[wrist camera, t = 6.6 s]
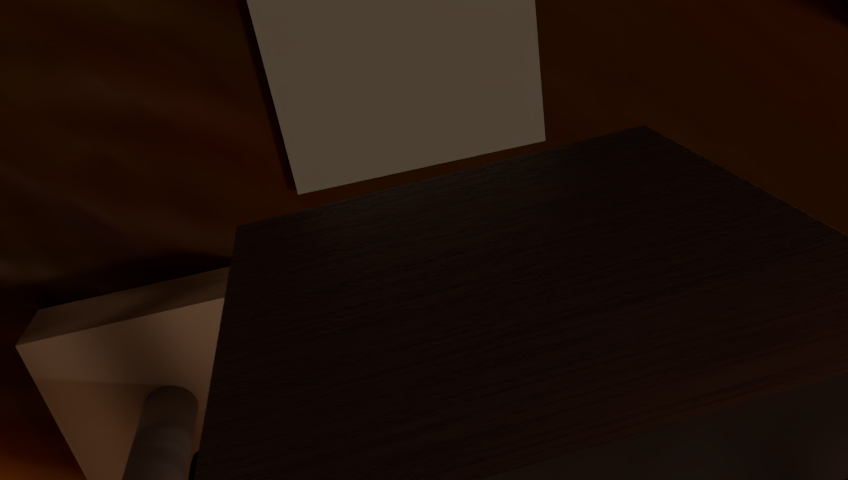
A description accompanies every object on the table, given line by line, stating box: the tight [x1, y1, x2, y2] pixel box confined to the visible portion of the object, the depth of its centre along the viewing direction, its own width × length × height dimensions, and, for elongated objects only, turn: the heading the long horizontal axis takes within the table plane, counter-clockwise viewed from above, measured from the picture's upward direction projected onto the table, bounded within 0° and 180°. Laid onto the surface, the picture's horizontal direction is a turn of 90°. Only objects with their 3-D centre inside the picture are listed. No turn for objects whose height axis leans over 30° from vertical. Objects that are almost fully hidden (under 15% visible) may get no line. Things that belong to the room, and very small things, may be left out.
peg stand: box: [15, 266, 230, 480], centre depth 30 cm, size 10×10×8 cm
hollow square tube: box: [194, 125, 848, 480], centre depth 9 cm, size 7×7×6 cm
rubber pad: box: [247, 0, 545, 194], centre depth 28 cm, size 12×12×1 cm
